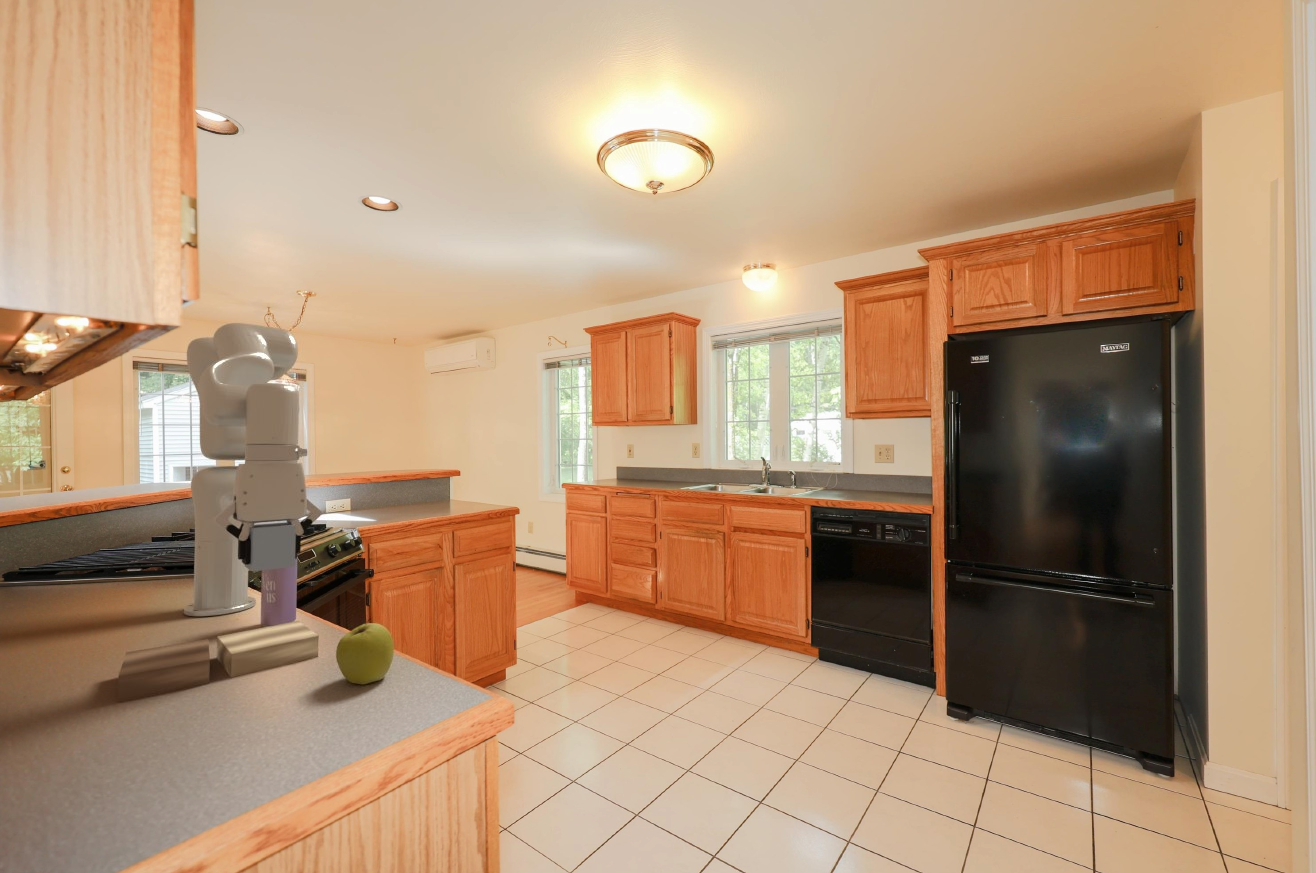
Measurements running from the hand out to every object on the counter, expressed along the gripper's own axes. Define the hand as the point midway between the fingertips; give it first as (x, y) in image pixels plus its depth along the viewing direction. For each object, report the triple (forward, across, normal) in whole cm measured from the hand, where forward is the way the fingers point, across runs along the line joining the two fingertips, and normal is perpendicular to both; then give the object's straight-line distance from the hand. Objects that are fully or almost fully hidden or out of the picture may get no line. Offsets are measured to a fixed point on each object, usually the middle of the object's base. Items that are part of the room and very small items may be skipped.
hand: (269, 559), depth 96 cm
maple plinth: (+17, 0, 0) cm, 17 cm away
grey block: (+1, 0, 0) cm, 1 cm away
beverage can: (+17, -6, -20) cm, 27 cm away
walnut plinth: (+17, +13, 0) cm, 21 cm away
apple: (+17, -8, +22) cm, 29 cm away
